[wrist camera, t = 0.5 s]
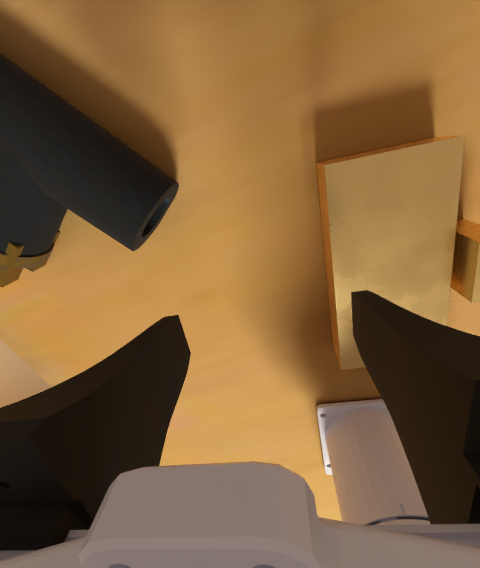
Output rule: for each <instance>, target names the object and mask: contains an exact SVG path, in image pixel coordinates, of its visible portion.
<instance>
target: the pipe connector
mask: <svg viewBox="0 0 480 568" xmlns="http://www.w3.org/2000/svg"><path fill="white" fill-rule="evenodd" d="M178 187H179V184H178V183H177V182H176V181H174V180H173V179H172V178H170V177H169V176H168V175H166V174H165V173H163V172H162V171H161V170H159V169H158V168H157V167H155V166H154V165H152V164H151V163H150V162H148V161H147V160H146V159H144V158H143V157H141V156H140V155H139V154H137V153H136V152H135V151H133V150H132V149H130V148H129V147H128V146H126V145H125V144H124V143H122V142H121V141H119V140H118V139H117V138H115V137H114V136H113V135H111V134H110V133H108V132H107V131H106V130H104V129H103V128H102V127H100V126H99V125H98V124H96V123H95V122H93V121H92V120H91V119H89V118H88V117H87V116H85V115H84V114H82V113H81V112H80V111H78V110H77V109H76V108H74V107H73V106H71V105H70V104H69V103H67V102H66V101H65V100H63V99H62V98H60V97H59V96H58V95H56V94H55V93H54V92H52V91H51V90H49V89H48V88H47V87H45V86H44V85H43V84H41V83H40V82H39V81H37V80H36V79H34V78H33V77H32V76H30V75H29V74H28V73H26V72H25V71H23V70H22V69H21V68H19V67H18V66H17V65H15V64H14V63H12V62H11V61H10V60H8V59H7V58H6V57H4V56H3V55H1V54H0V287H4V286H6V285H8V284H10V283H12V282H14V281H16V280H18V279H19V276H20V274H21V271H22V269H23V268H27V269H29V270H30V271H32V272H33V271H35V270H37V269H39V268H41V267H43V266H45V265H46V262H47V260H48V258H49V256H50V254H51V252H52V249H53V247H54V245H55V242H56V240H57V238H58V236H59V233H60V231H59V230H58V229H59V227H60V225H61V223H62V220H63V218H64V216H65V214H66V211H67V209H69V210H71V211H72V212H74V213H75V214H77V215H78V216H80V217H81V218H83V219H84V220H86V221H87V222H89V223H90V224H92V225H93V226H95V227H97V228H98V229H100V230H101V231H103V232H104V233H106V234H107V235H109V236H110V237H112V238H113V239H115V240H116V241H118V242H120V243H121V244H123V245H124V246H126V247H127V248H129V249H130V250H132V251H135V250H137V249H138V248H139V247H140V246H141V245H142V244H143V243H144V242H145V241H146V240H147V239H148V238H149V236H150V235H151V234H152V233H153V231H154V230H155V229H156V227H157V226H158V225H159V223H160V221H161V220H162V218H163V216H164V215H165V213H166V211H167V210H168V208H169V206H170V205H171V203H172V201H173V199H174V198H175V196H176V193H177V191H178Z"/></svg>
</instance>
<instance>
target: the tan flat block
mask: <svg viewBox="0 0 480 568" xmlns="http://www.w3.org/2000/svg"><path fill="white" fill-rule="evenodd" d="M464 142H465V135H462V136H447V137H434V138H429V139H425V140H420V141H415V142H411V143H406V144H401V145H397V146H392V147H387V148H383V149H378V150H373V151H369V152H364V153H359V154H355V155H350V156H345V157H341V158H336V159H331V160H327V161H322V162H317V163H316V169H317V180H318V190H319V201H320V212H321V222H322V233H323V244H324V254H325V265H326V276H327V286H328V297H329V308H330V318H331V329H332V340H333V347H334V350H335V353H336V356H337V359H338V362H339V365H340V368H341V370H347V369H357V368H366V366H365V364H364V362H363V360H362V358H361V356H360V354H359V351H358V348H357V345H356V343H355V340H354V337H353V324H352V301H351V292H355V291H363V290H369V291H371V292H373V293H375V294H377V295H379V296H381V297H383V298H385V299H387V300H389V301H390V302H392V303H394V304H396V305H398V306H400V307H402V308H404V309H406V310H409V311H411V312H413V313H415V314H417V315H420V316H422V317H424V318H427V319H429V320H431V321H434V322H436V323H439V324H442V325H445V326H447V317H448V307H449V297H450V287H451V288H453V289H454V290H455V291H457V292H458V293H459V294H461V295H462V296H464V297H465V298H466V299H468V300H469V301H470V302H472V303H473V302H480V225H479V224H476V223H474V222H471V221H468V220H465V219H460V220H457V214H458V204H459V194H460V183H461V173H462V163H463V152H464Z"/></svg>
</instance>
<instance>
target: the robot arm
mask: <svg viewBox="0 0 480 568" xmlns="http://www.w3.org/2000/svg"><path fill="white" fill-rule="evenodd" d="M351 301H352V324H353V337H354V340H355V343H356V345H357V348H358V351H359V354H360V356H361V358H362V360H363V362H364V364H365V366H366V368H367V370H368V372H369V374H370V376H371V378H372V380H373V382H374V384H375V385H376V387H377V389H378V391H379V393H380V395H381V397H382V399H375V400H364V401H353V402H341V403H330V404H320V405H318V406H317V408H316V410H317V417H318V424H319V431H320V439H321V446H322V453H323V461H324V468H325V473H326V474H328V475H333V479H334V484H335V488H336V493H337V498H338V503H339V508H340V512H341V517H342V521H337V520H331V519H326V518H320V517H318V515H317V512H316V505H315V498H314V494H313V493H312V491H311V489H310V488H309V486H308V484H307V483H306V481H305V479H304V478H303V477H301V476H300V475H298V474H296V473H294V472H292V471H290V470H289V469H287V468H285V467H283V466H281V465H279V464H271V463H263V462H255V461H252V462H232V463H212V464H192V465H172V466H159V464H160V459H161V455H162V450H163V446H164V442H165V438H166V434H167V430H168V427H169V423H170V420H171V417H172V414H173V412H174V409H175V406H176V403H177V400H178V398H179V395H180V392H181V389H182V386H183V383H184V380H185V377H186V374H187V370H188V365H189V360H190V354H191V353H190V350H189V346H188V343H187V340H186V337H185V334H184V331H183V328H182V325H181V322H180V319H179V315H175V316H167V317H164V318H162V319H160V320H159V321H157V322H156V323H155V324H153V325H152V326H150V327H149V328H148V329H146V330H145V331H144V332H142V333H141V334H140V335H138V336H137V337H136V338H134V339H133V340H132V341H130V342H129V343H128V344H126V345H125V346H123V347H122V348H120V349H119V350H118V351H116V352H115V353H113V354H112V355H110V356H109V357H107V358H106V359H104V360H103V361H101V362H99V363H98V364H96V365H94V366H92V367H91V368H89V369H87V370H86V371H84V372H82V373H80V374H78V375H76V376H74V377H72V378H70V379H68V380H66V381H64V382H62V383H60V384H58V385H56V386H54V387H52V388H49V389H47V390H45V391H43V392H40V393H38V394H36V395H33V396H31V397H29V398H26V399H23V400H21V401H19V402H16V403H13V404H10V405H7V406H4V407H2V408H0V568H480V336H476V335H472V334H469V333H466V332H462V331H459V330H456V329H453V328H450V327H448V326H445V325H442V324H439V323H436V322H434V321H431V320H429V319H427V318H424V317H422V316H420V315H417V314H415V313H413V312H411V311H409V310H406V309H404V308H402V307H400V306H398V305H396V304H394V303H392V302H390V301H389V300H387V299H385V298H383V297H381V296H379V295H377V294H375V293H373V292H371V291H369V290H363V291H355V292H351ZM322 413H324V414H322Z"/></svg>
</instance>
